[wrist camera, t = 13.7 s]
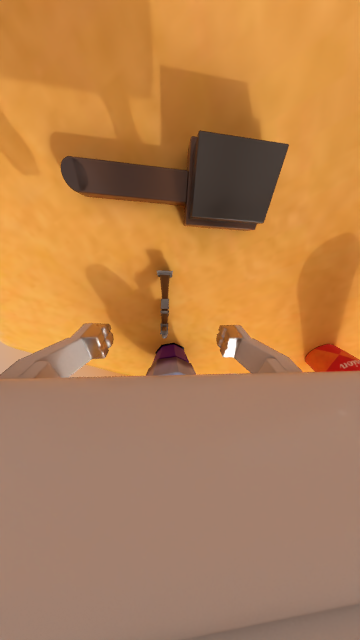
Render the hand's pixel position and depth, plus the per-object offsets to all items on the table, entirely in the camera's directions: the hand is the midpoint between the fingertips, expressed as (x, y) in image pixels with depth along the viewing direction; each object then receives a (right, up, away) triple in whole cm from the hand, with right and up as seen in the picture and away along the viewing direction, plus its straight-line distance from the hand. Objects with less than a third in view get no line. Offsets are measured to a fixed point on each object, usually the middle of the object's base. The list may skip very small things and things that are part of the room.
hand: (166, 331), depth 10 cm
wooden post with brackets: (-1, +4, +8) cm, 9 cm away
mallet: (+1, +13, +2) cm, 13 cm away
